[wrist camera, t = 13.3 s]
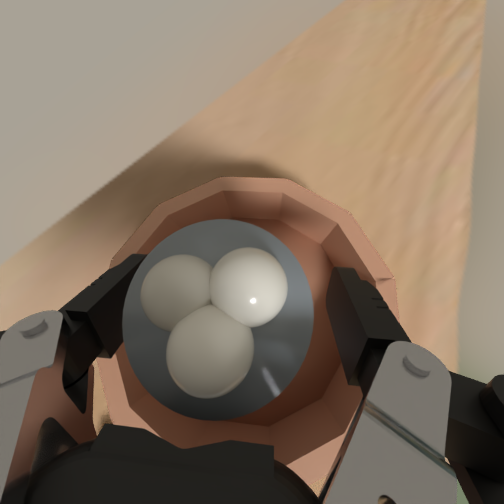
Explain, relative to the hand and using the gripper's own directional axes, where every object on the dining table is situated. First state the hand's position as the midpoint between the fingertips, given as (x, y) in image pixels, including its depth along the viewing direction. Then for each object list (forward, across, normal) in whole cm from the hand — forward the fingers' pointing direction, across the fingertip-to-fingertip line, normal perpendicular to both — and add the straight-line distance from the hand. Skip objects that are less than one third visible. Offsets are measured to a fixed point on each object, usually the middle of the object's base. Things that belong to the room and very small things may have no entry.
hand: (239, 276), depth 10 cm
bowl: (+4, 0, +6) cm, 7 cm away
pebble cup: (+3, 0, +5) cm, 6 cm away
